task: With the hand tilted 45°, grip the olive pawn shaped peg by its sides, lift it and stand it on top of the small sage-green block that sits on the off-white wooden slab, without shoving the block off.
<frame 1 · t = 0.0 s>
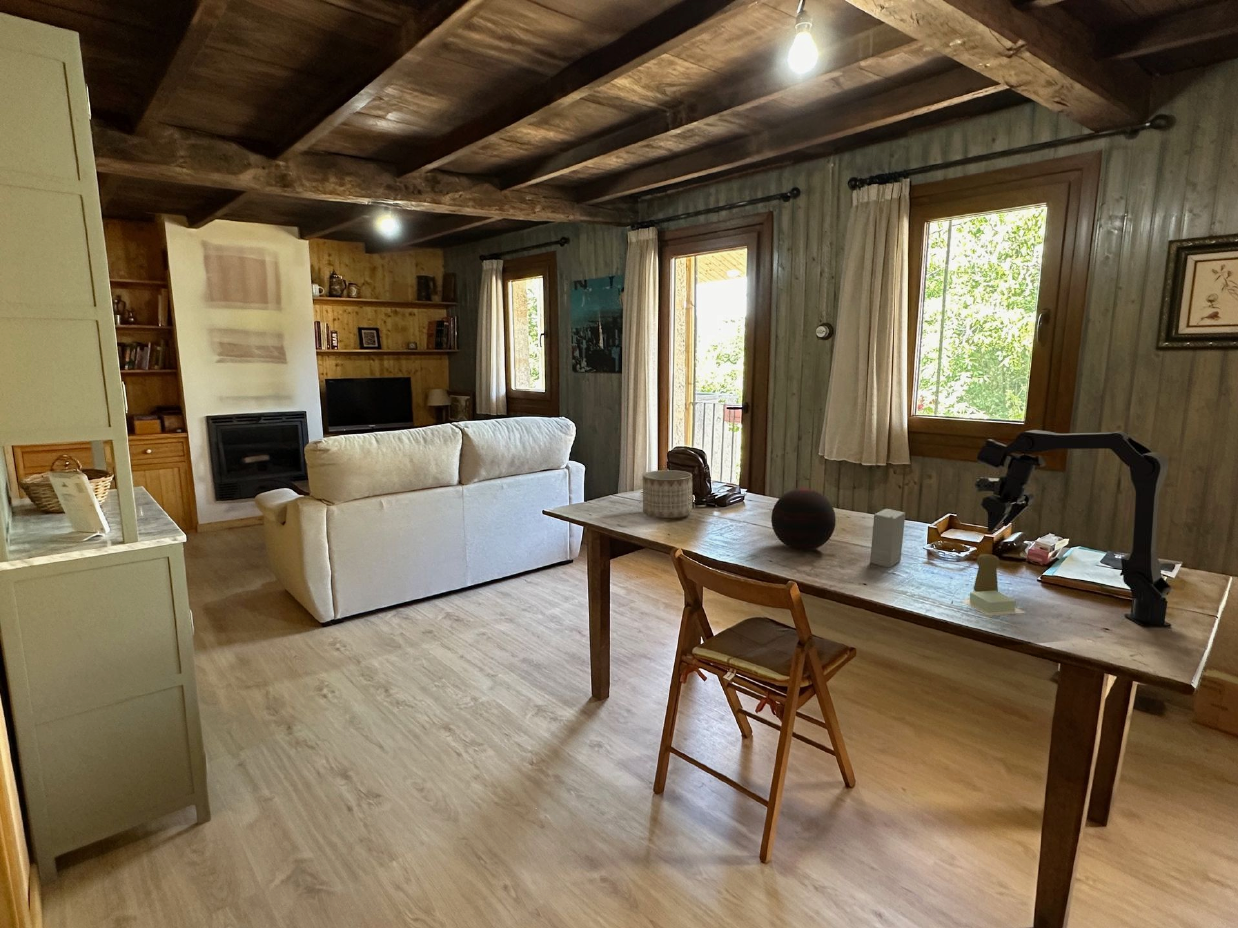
hand: (997, 528, 181), 15 cm above the table, tool pointing down, fingers open, 9 cm apart
tower slab: (991, 611, 164), on the table
skincare box: (886, 563, 202), on the table
planter: (667, 516, 262), on the table
tower block: (991, 606, 164), point 1 cm above the table, touching tower slab
decorative orb: (802, 549, 216), on the table
olive pawn shaped peg: (985, 596, 175), on the table
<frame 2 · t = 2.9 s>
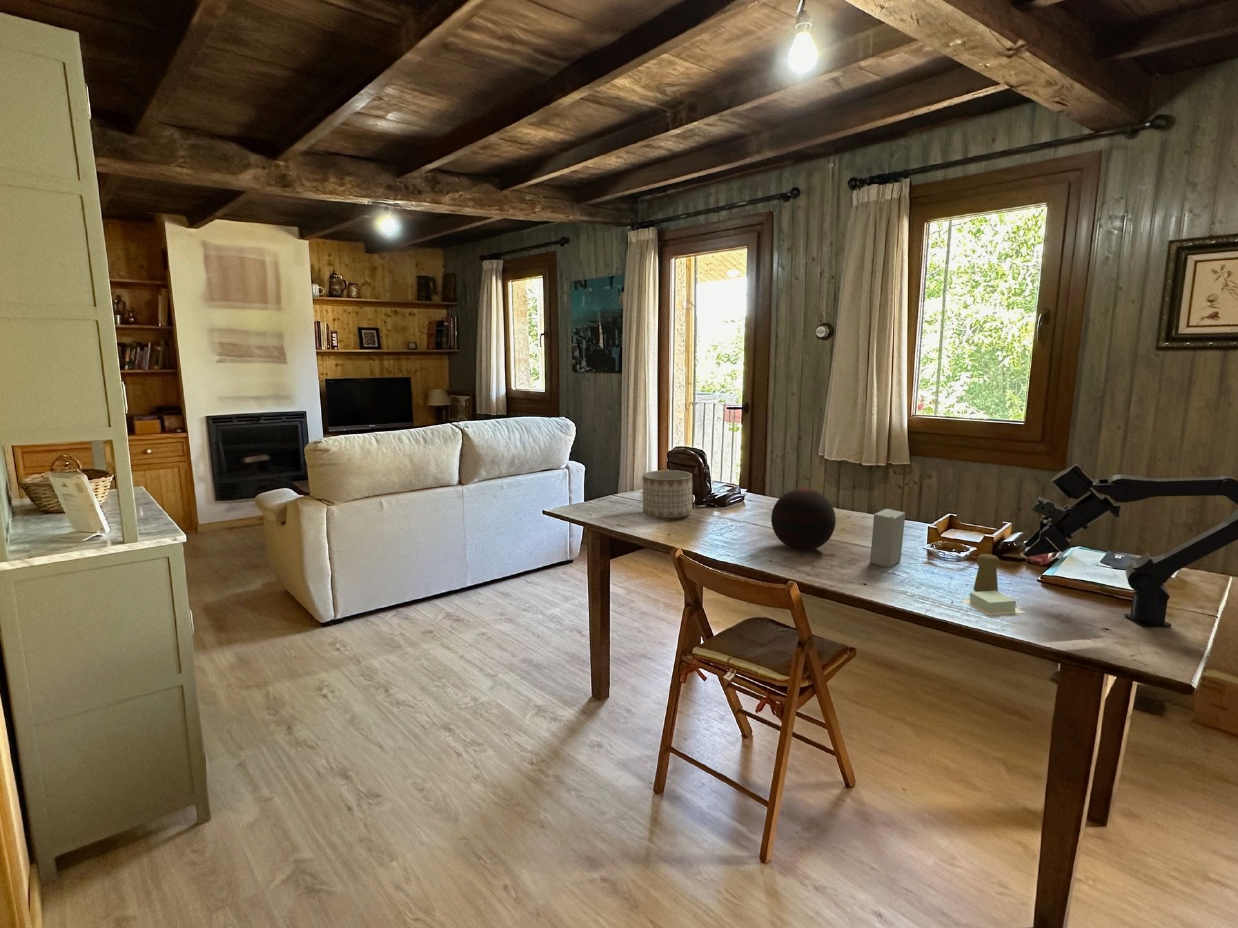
hand: (1025, 550, 168), 13 cm above the table, tool tilted 45°, fingers open, 9 cm apart
nothing on the table moved.
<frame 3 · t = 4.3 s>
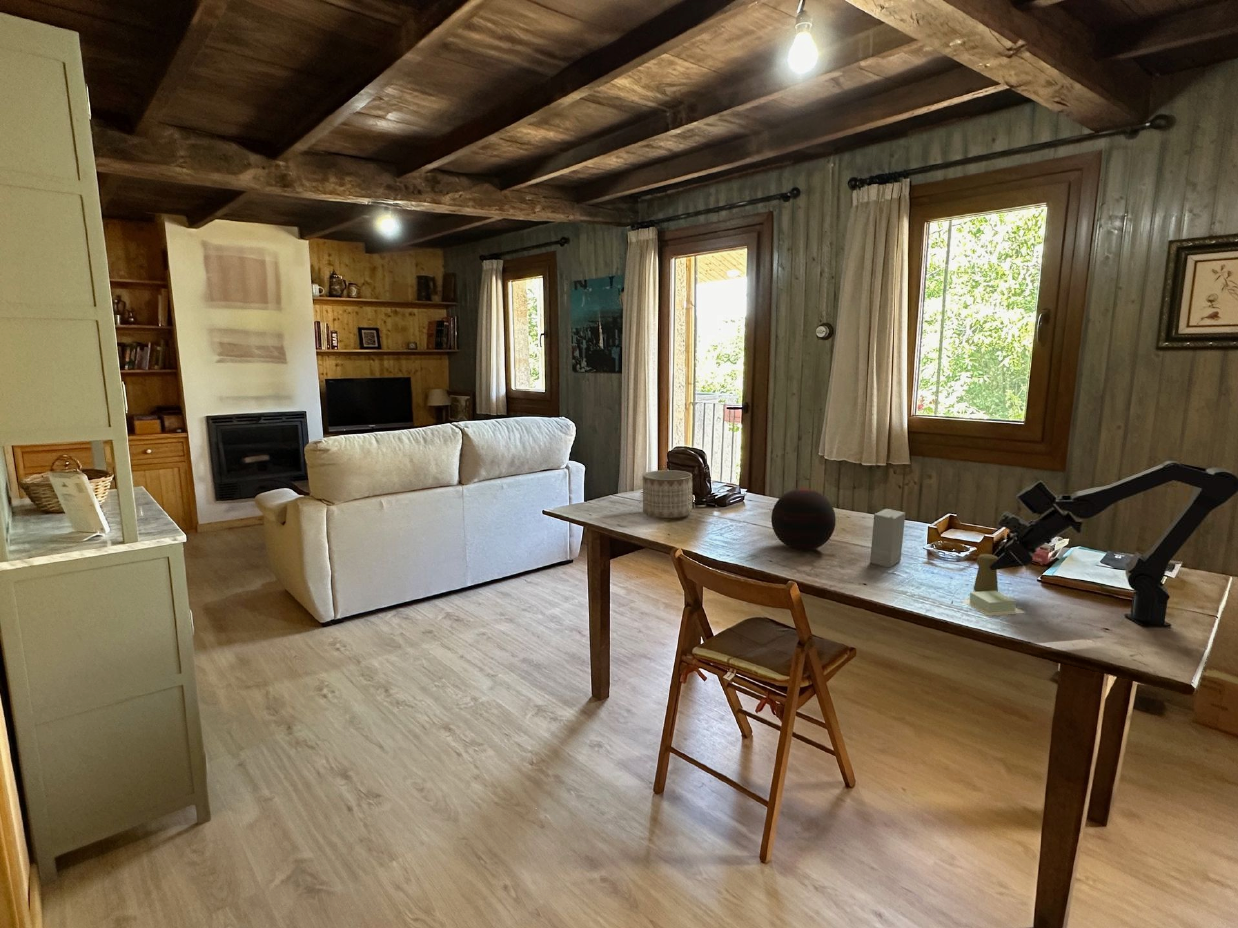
hand: (991, 563, 173), 9 cm above the table, tool tilted 45°, fingers open, 9 cm apart
nothing on the table moved.
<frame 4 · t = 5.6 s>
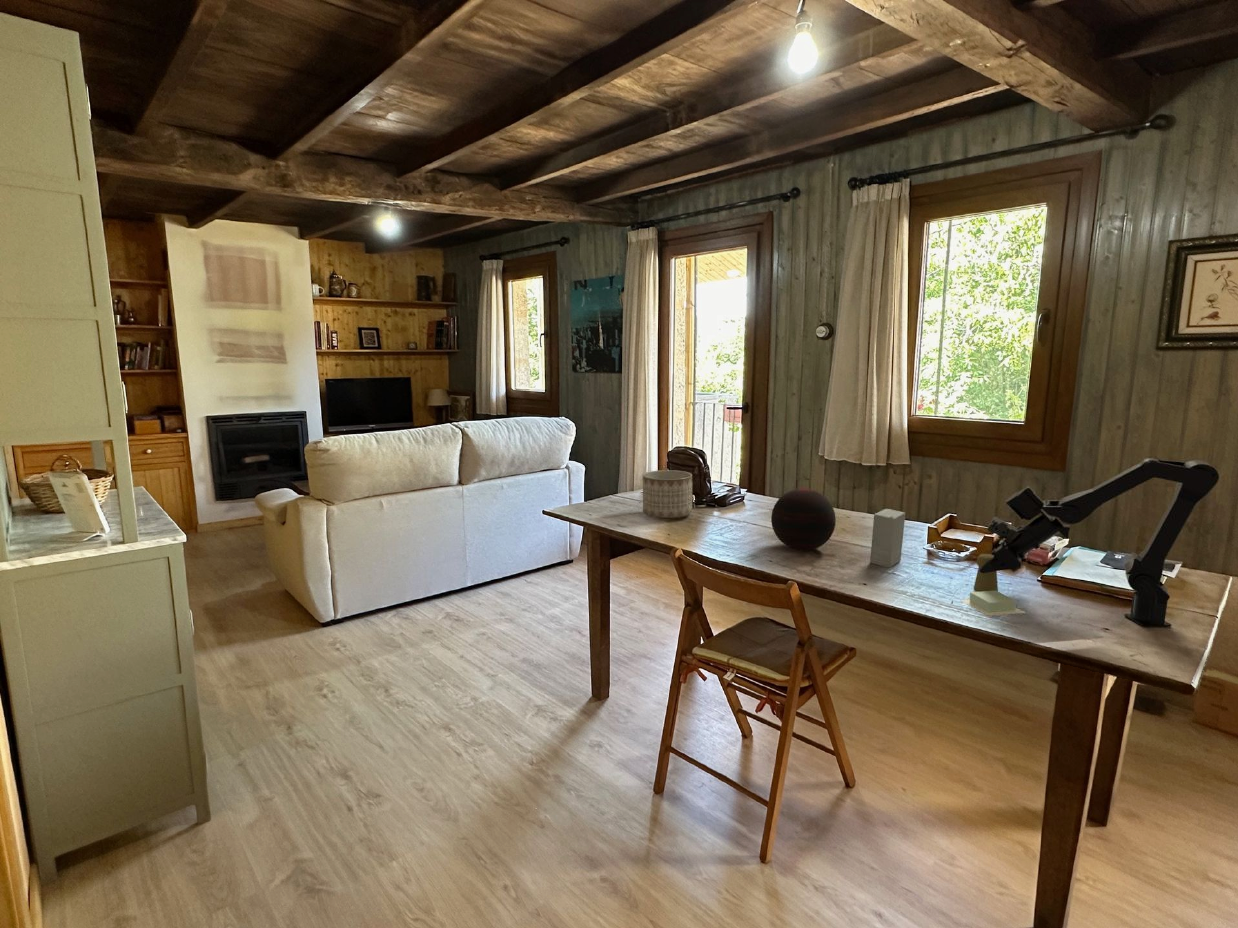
hand: (981, 568, 174), 7 cm above the table, tool tilted 45°, fingers closed on olive pawn shaped peg, 5 cm apart
olive pawn shaped peg: (985, 596, 175), on the table, touching gripper
everything else where it was.
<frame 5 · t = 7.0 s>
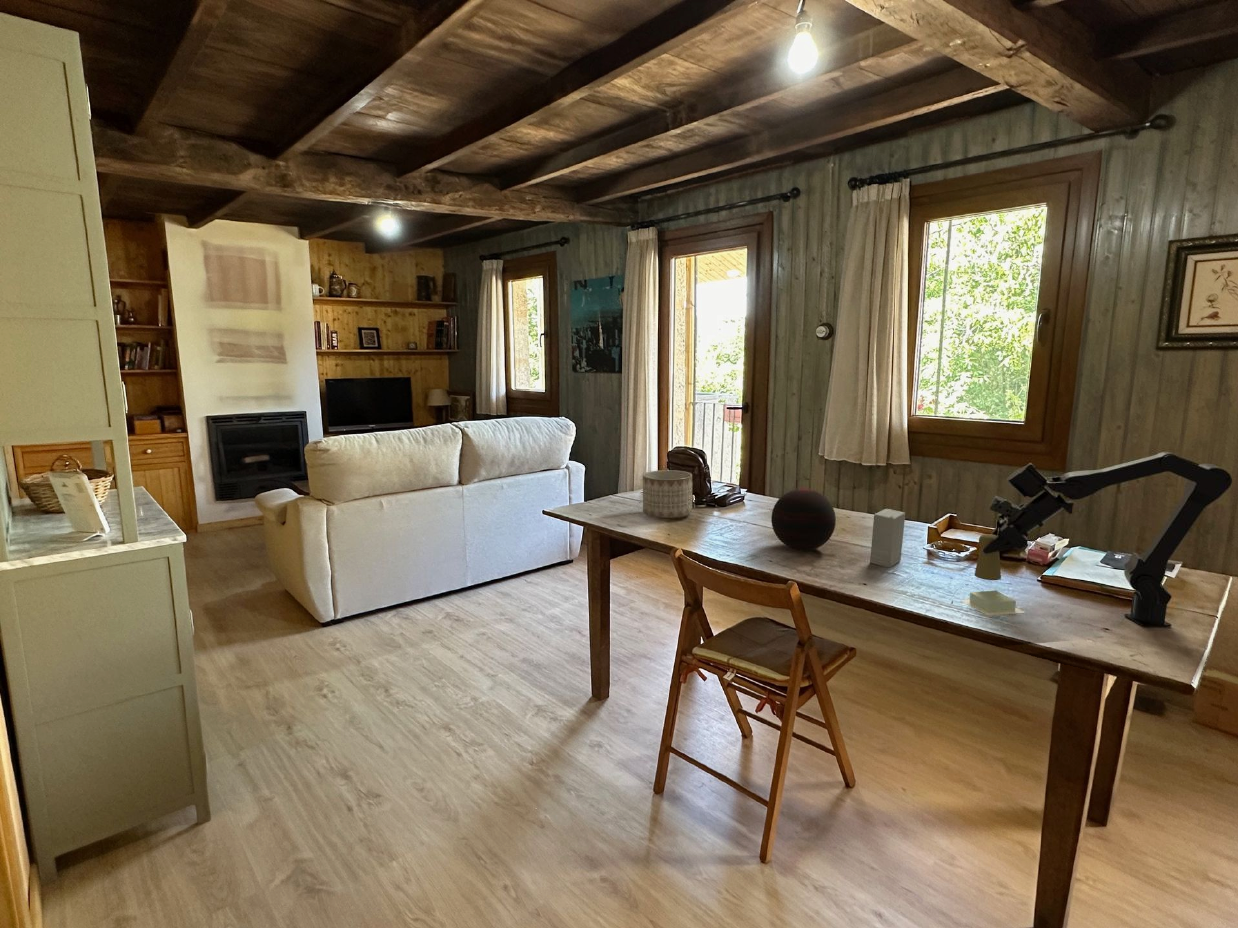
hand: (983, 549, 170), 13 cm above the table, tool tilted 45°, fingers closed on olive pawn shaped peg, 5 cm apart
olive pawn shaped peg: (987, 577, 171), point 6 cm above the table, touching gripper
everything else where it was.
when the fingers open (12 cm above the table, at t = 8.3 s): olive pawn shaped peg stays where it is, resting on tower block.
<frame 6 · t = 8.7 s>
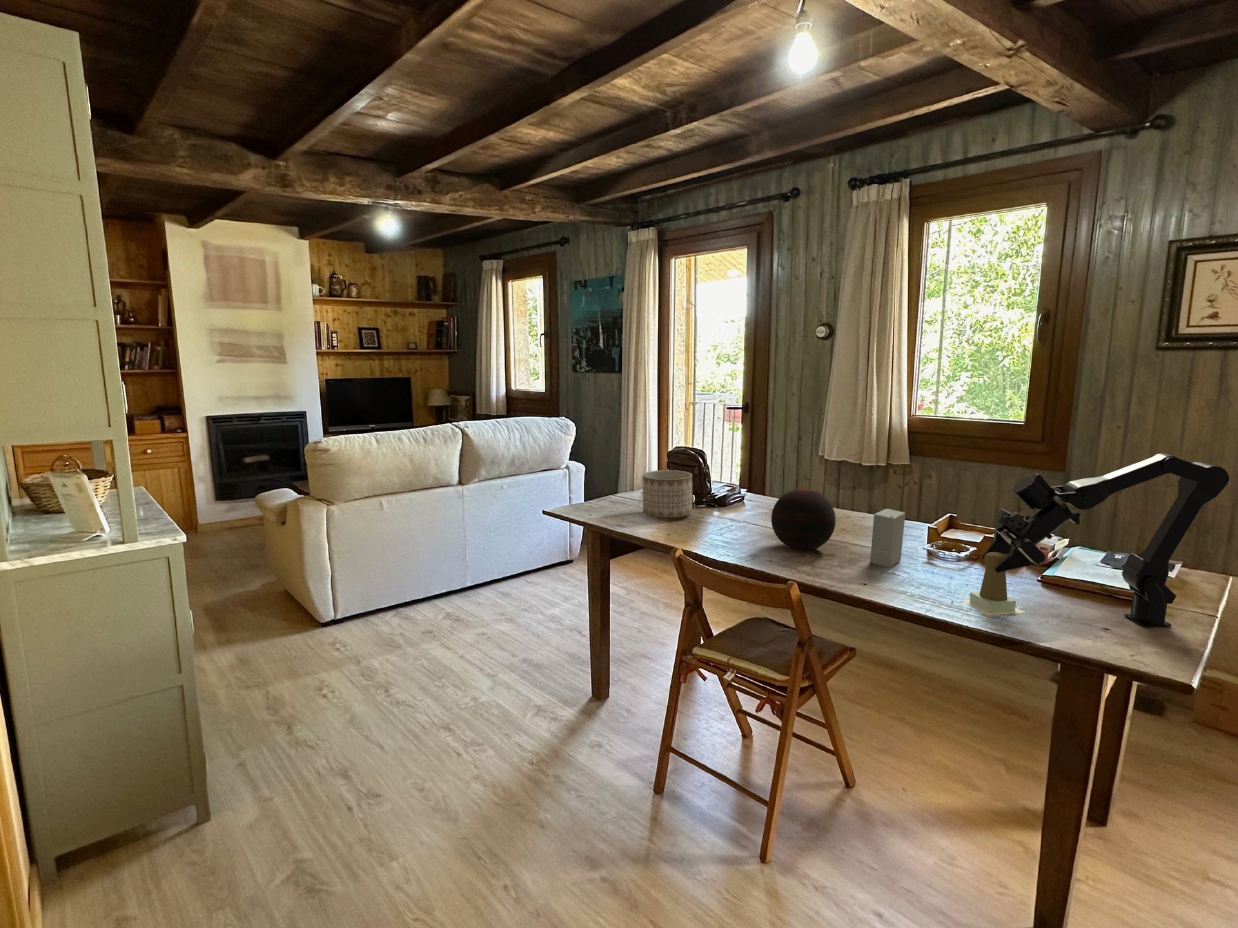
hand: (989, 564, 162), 12 cm above the table, tool tilted 45°, fingers open, 9 cm apart
tower block: (992, 606, 164), point 1 cm above the table, touching olive pawn shaped peg, tower slab
olive pawn shaped peg: (993, 597, 163), point 4 cm above the table, touching tower block
everything else where it was.
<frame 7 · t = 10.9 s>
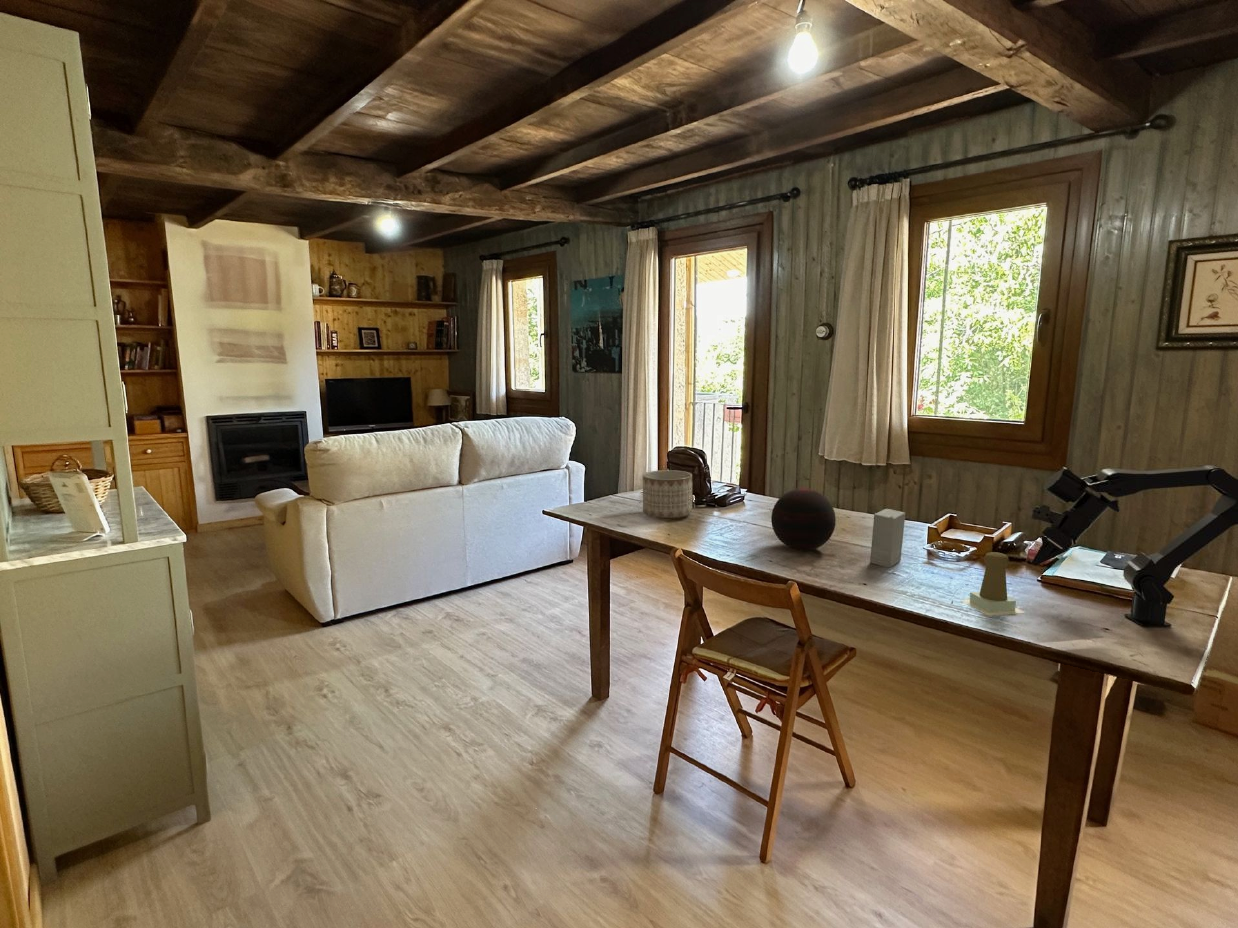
hand: (1035, 563, 163), 12 cm above the table, tool tilted 35°, fingers open, 9 cm apart
nothing on the table moved.
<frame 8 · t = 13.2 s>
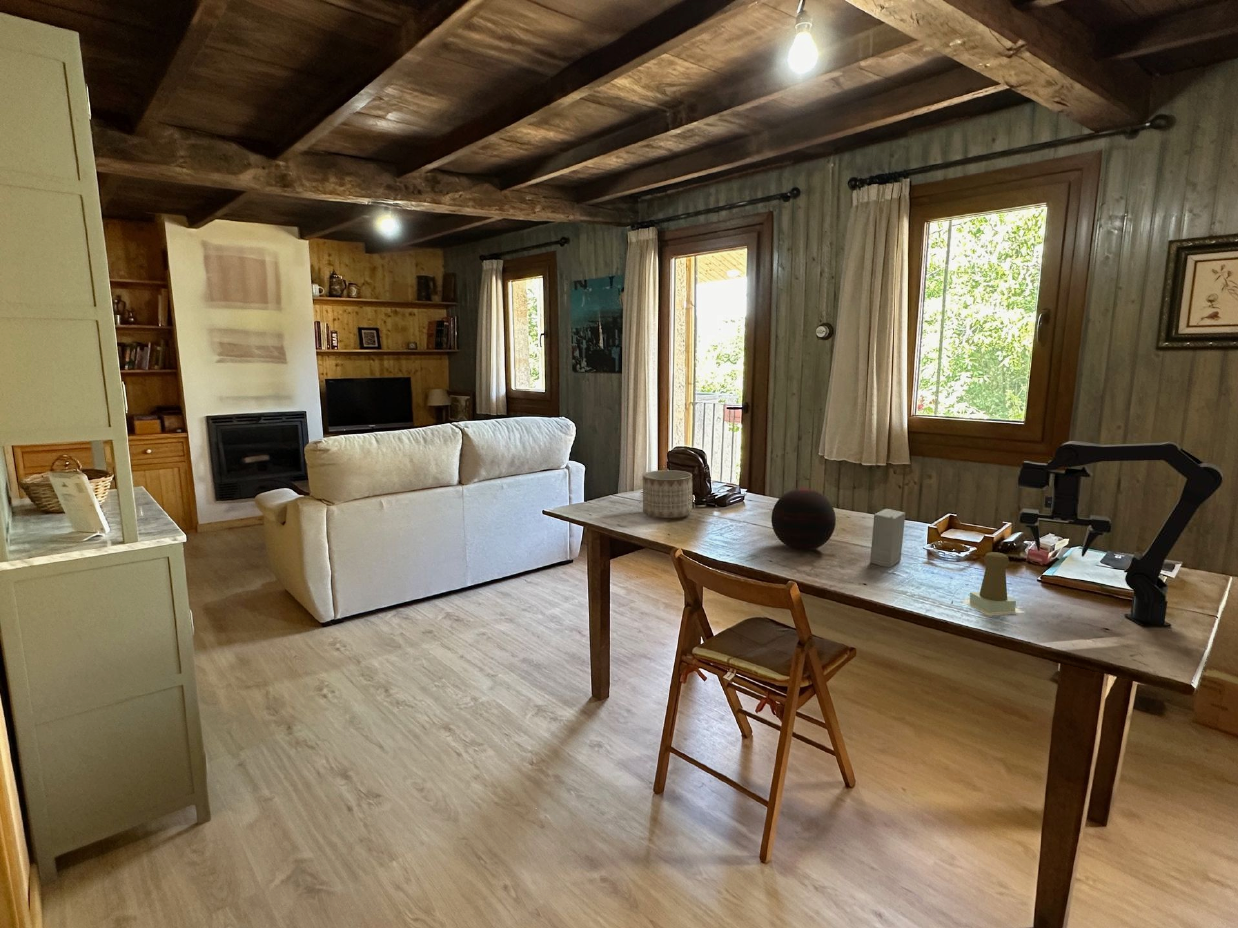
hand: (1060, 553, 167), 13 cm above the table, tool pointing down, fingers open, 9 cm apart
nothing on the table moved.
at the end: olive pawn shaped peg inside the target area (0.1 cm from its centre), point 3.8 cm above the table; olive pawn shaped peg tilted 0°; tower block moved 0.0 cm from its start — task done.
